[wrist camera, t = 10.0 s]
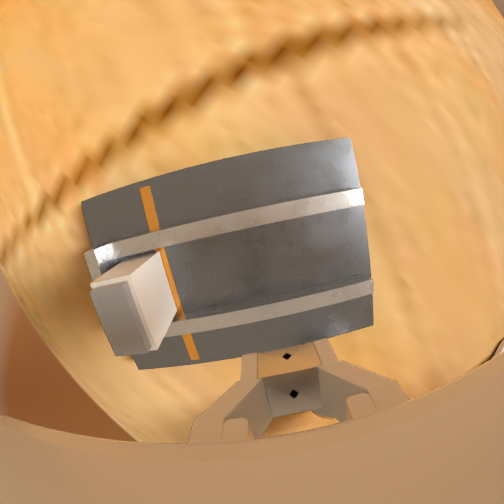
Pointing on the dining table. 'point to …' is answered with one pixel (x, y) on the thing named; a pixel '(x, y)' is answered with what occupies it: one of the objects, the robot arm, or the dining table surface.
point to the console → (246, 250)
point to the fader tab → (134, 304)
